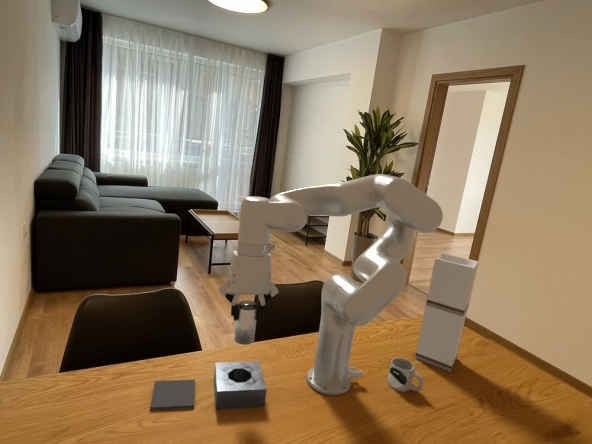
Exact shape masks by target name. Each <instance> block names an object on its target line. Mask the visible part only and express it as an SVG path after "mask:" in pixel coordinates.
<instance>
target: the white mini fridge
mask: <svg viewBox="0 0 592 444" xmlns="http://www.w3.org/2000/svg"><path fill="white" fill-rule="evenodd" d="M433 263H434V264H433V268H432V273H431V277H430V283H429V288H428V292H427V293H428V294H427V298H426V302H425V307H424V312H423V317H422V322H421V327H420V332H419V337H418V340H417V346H416V352H415V357H414V359H415V358H416V360H418V359H419V360H418V361H421V362H423V361H424V363H426V364H428V363H429V365H431V364H432V365H431V366H433V365H434V367H436V366H437V367H436V368H438V367H439V369H441V368H442V370H443V371H444V370H445V371H446V370H447V372H449V373H451V372H452V370H453V368H454V365H455V363H456V361H457V358H458V352H459V347H460V344H461V339H462V334H463V331H464V327H465V326H464V325H465V322H466V321H465V320H466V318H467V317H466V316H467V312H468V309H469V305H470V301H471V296H472V292H473V289H474V288H473V287H474V284H475V280H476V279H475V278H476V274H477V269H478V266H479V261H478V260H473V259H470V258H466V257H462V256H461V257H460V256H457V255H454V254H449V253H445V252H441V255H440V258H437V257H435V258H434V262H433ZM455 360H456V361H455Z"/></svg>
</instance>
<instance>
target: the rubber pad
mask: <svg viewBox="0 0 592 444" xmlns="http://www.w3.org/2000/svg"><path fill="white" fill-rule="evenodd" d="M152 389H153V390H152V397H151V402H150V405H149V411H164V410H181V409H184V410H185V409H195V401H196V400H195V397H196V396H195V395H196V394H195V393H196V391H195V390H196V379H178V380H177V379H176V380H175V379H173V380H170V379H169V380H155V381H154V385H153V388H152Z"/></svg>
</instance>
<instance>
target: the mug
mask: <svg viewBox="0 0 592 444" xmlns="http://www.w3.org/2000/svg"><path fill="white" fill-rule="evenodd" d="M415 368H416V366H415V364H414V363H413V362H412V361H410V360H409V359H406V358H404V357H394V358H392V359H391V362H390V366H389V371H388V377H387V385H388V386H389V387H390V388H392V389H393V390H395V391H396V392H397V391H398V392H403V393H405V392H406V393H407V392H409V391H415V392H419V393H420V392H421V391H422V390H423V386H424V378H423V377H422V376H421V375H420V374H419V373H418V372H417V371H415ZM413 378H416V379H418V381H419V385H418V386H415V385H414V384H413Z"/></svg>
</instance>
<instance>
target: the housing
mask: <svg viewBox="0 0 592 444" xmlns="http://www.w3.org/2000/svg"><path fill="white" fill-rule="evenodd" d="M213 374H214V375H213V386H214V388H213V389H214V406H215V409H214V410H217V411H218V410H234V409H235V410H236V409H248V408H249V409H251V408H252V409H253V408H255V409H256V408H265V406H266V398H267V397H266V396H267V389H268V388H267V385H266V382H265V377H264V374H263V370H262V366H261V363H260V361H232V362H231V361H229V362H226V361H225V362H223V361H221V362H215V363H214V373H213Z"/></svg>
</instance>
